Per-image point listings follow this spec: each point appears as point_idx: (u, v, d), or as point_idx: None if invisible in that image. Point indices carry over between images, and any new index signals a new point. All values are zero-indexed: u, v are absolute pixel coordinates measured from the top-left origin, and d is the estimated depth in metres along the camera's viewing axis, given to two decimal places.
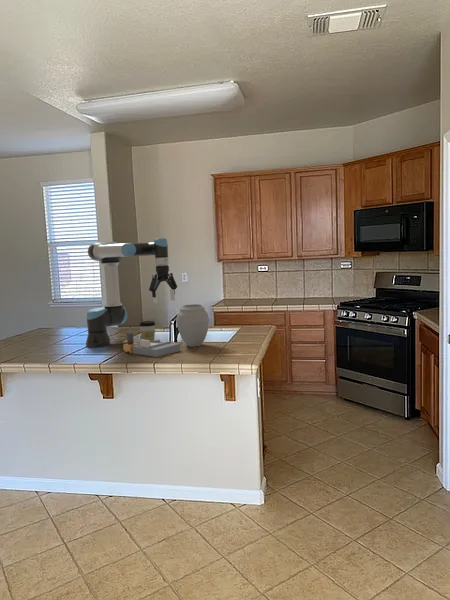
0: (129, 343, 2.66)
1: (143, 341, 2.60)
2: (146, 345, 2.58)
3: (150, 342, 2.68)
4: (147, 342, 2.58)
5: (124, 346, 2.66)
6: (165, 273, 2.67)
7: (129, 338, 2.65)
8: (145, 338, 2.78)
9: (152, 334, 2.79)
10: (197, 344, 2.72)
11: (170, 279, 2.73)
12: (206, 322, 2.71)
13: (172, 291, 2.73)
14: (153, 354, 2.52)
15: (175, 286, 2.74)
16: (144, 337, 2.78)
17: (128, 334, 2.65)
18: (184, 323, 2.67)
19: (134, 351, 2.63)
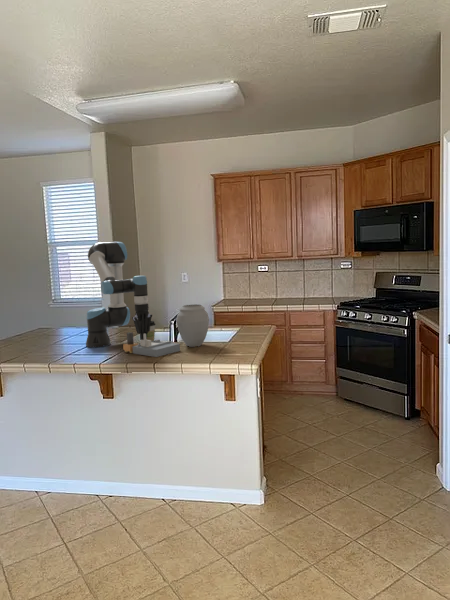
0: (129, 343, 2.66)
1: None
2: (147, 345, 2.59)
3: (151, 342, 2.69)
4: (148, 342, 2.58)
5: (124, 346, 2.66)
6: None
7: (129, 338, 2.65)
8: None
9: (152, 334, 2.79)
10: (197, 344, 2.72)
11: (147, 320, 2.62)
12: (206, 322, 2.71)
13: None
14: (153, 354, 2.52)
15: (148, 329, 2.60)
16: None
17: (128, 334, 2.65)
18: (184, 323, 2.67)
19: (134, 351, 2.63)
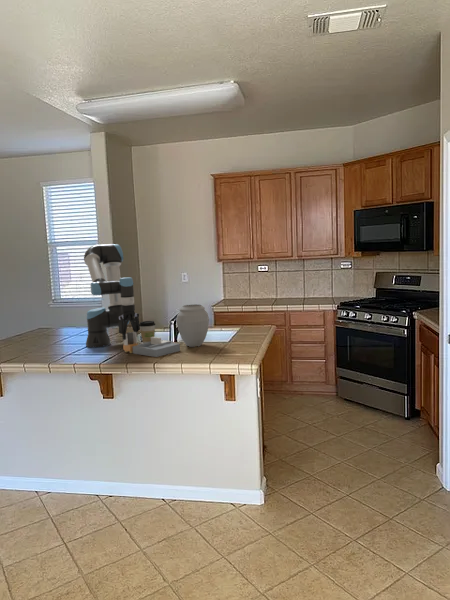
0: (129, 343, 2.66)
1: (154, 338, 2.66)
2: (157, 342, 2.65)
3: (160, 340, 2.74)
4: (158, 339, 2.64)
5: (124, 346, 2.66)
6: (131, 311, 2.66)
7: (129, 338, 2.65)
8: (145, 338, 2.78)
9: (152, 334, 2.79)
10: (197, 344, 2.72)
11: (135, 320, 2.70)
12: (206, 322, 2.71)
13: (134, 334, 2.69)
14: (153, 354, 2.52)
15: (138, 328, 2.70)
16: (144, 337, 2.78)
17: (128, 334, 2.65)
18: (184, 323, 2.67)
19: (134, 351, 2.63)
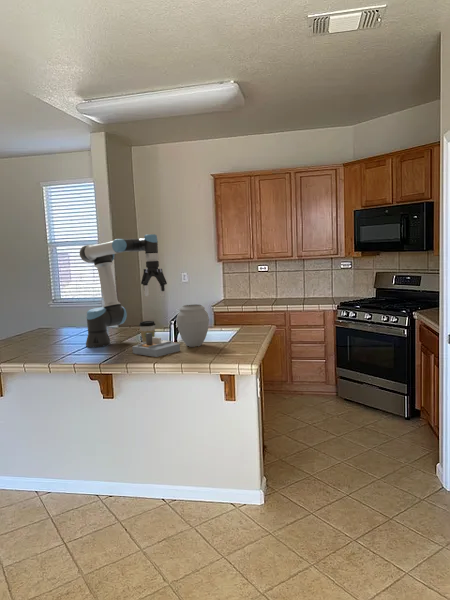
0: None
1: (154, 338, 2.66)
2: (157, 342, 2.65)
3: (160, 340, 2.74)
4: (158, 339, 2.64)
5: None
6: (152, 269, 2.72)
7: None
8: (145, 338, 2.78)
9: (152, 334, 2.79)
10: (197, 344, 2.72)
11: None
12: (206, 322, 2.71)
13: None
14: (153, 354, 2.52)
15: (162, 283, 2.68)
16: (144, 337, 2.78)
17: None
18: (184, 323, 2.67)
19: (134, 351, 2.63)
